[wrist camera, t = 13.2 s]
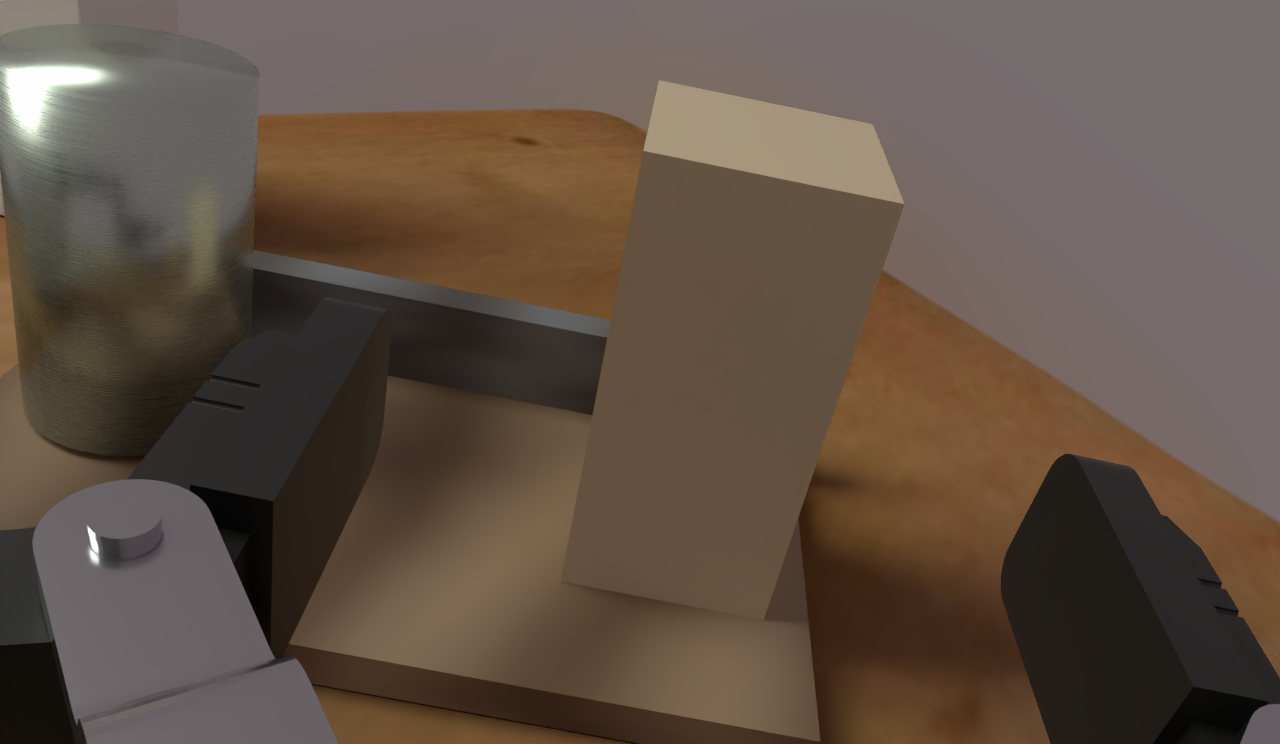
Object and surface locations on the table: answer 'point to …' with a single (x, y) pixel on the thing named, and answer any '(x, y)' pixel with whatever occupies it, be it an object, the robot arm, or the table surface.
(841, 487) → the table surface
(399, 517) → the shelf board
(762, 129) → the kraft carton
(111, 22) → the milk
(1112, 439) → the table surface
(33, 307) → the oat tin
